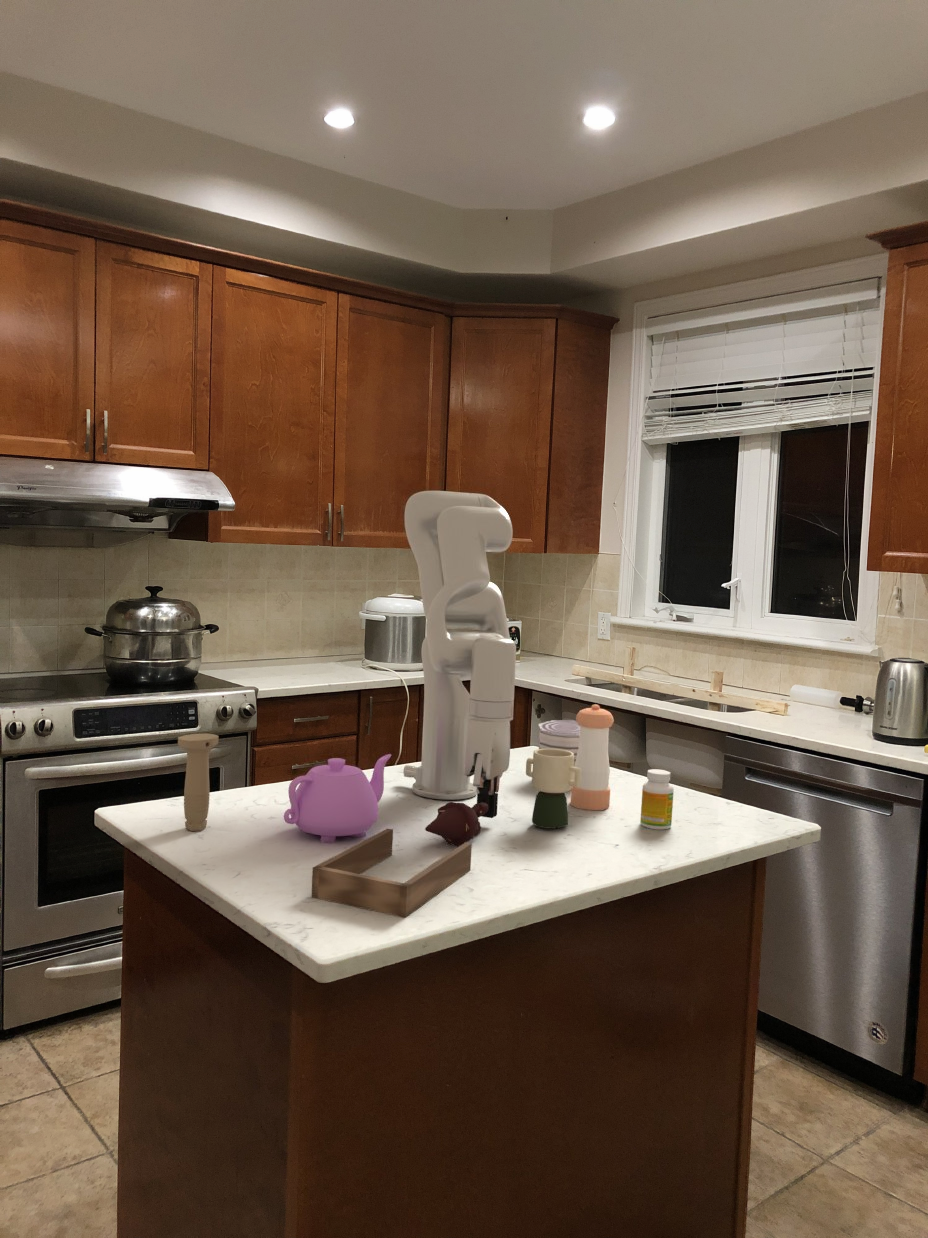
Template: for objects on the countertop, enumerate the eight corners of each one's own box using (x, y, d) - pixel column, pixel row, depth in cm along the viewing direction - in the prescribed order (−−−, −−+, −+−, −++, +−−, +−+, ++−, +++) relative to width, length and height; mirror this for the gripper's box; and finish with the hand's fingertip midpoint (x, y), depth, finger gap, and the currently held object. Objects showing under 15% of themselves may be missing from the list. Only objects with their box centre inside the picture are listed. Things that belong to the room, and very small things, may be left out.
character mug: (587, 829, 165) (592, 755, 164) (565, 838, 159) (570, 761, 158) (534, 816, 171) (538, 744, 170) (512, 824, 166) (515, 750, 165)
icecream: (450, 819, 144) (506, 809, 156) (415, 797, 149) (472, 789, 161) (437, 860, 145) (493, 848, 157) (402, 838, 150) (460, 827, 162)
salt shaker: (609, 802, 184) (615, 703, 182) (608, 812, 177) (614, 709, 175) (571, 798, 185) (577, 700, 184) (569, 808, 178) (575, 706, 176)
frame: (311, 897, 127) (312, 867, 127) (386, 854, 146) (387, 828, 146) (405, 917, 121) (407, 887, 121) (470, 870, 141) (471, 843, 140)
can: (601, 782, 199) (604, 725, 199) (572, 792, 191) (575, 732, 190) (554, 772, 206) (557, 717, 206) (524, 781, 198) (527, 723, 197)
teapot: (365, 813, 168) (368, 745, 167) (413, 834, 157) (416, 761, 156) (262, 830, 155) (265, 756, 155) (307, 854, 145) (310, 774, 144)
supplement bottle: (671, 831, 166) (674, 776, 165) (639, 828, 167) (643, 773, 166) (671, 823, 171) (674, 769, 170) (640, 820, 172) (643, 767, 171)
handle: (169, 829, 153) (172, 737, 152) (203, 822, 158) (206, 732, 157) (187, 836, 150) (190, 742, 149) (221, 828, 155) (224, 737, 154)
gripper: (487, 702, 171) (482, 803, 172) (453, 713, 158) (448, 823, 159) (526, 706, 168) (522, 809, 169) (495, 717, 155) (490, 829, 156)
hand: (486, 815), depth 164 cm, fingers closed
